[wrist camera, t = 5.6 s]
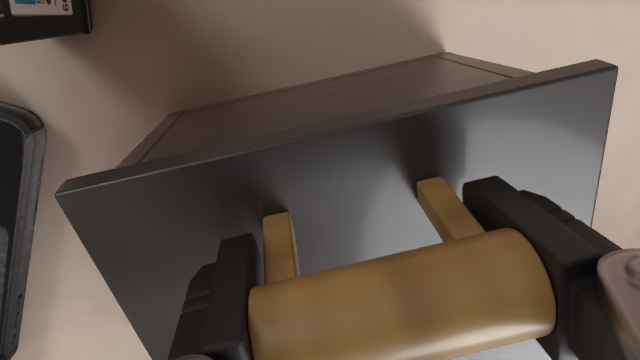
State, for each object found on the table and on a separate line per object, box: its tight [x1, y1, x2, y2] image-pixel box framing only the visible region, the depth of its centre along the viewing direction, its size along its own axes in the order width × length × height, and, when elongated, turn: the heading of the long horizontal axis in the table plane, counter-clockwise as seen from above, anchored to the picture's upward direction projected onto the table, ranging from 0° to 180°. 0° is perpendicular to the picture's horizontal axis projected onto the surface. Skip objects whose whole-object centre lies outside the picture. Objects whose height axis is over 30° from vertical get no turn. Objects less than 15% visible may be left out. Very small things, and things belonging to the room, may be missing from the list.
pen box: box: [116, 52, 534, 168], centre depth 20 cm, size 17×14×8 cm
